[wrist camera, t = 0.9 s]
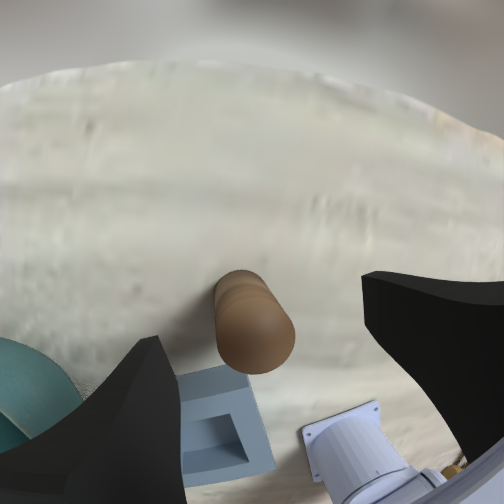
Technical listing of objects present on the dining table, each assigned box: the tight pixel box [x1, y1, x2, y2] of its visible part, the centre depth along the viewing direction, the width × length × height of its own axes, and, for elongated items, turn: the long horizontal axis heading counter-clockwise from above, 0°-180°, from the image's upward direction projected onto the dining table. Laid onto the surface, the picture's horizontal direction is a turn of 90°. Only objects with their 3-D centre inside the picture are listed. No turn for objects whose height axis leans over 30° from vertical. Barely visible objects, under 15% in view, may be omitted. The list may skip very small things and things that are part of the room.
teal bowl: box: [0, 338, 83, 453], centre depth 16 cm, size 18×18×12 cm
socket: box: [175, 364, 277, 488], centre depth 23 cm, size 10×10×4 cm
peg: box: [214, 270, 295, 374], centre depth 19 cm, size 4×4×8 cm
